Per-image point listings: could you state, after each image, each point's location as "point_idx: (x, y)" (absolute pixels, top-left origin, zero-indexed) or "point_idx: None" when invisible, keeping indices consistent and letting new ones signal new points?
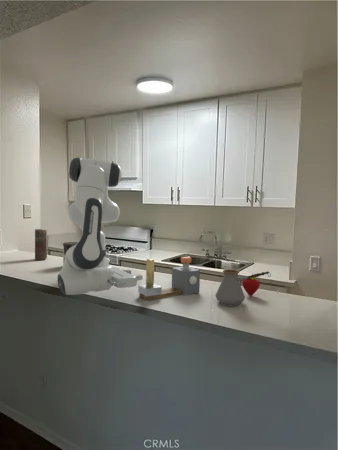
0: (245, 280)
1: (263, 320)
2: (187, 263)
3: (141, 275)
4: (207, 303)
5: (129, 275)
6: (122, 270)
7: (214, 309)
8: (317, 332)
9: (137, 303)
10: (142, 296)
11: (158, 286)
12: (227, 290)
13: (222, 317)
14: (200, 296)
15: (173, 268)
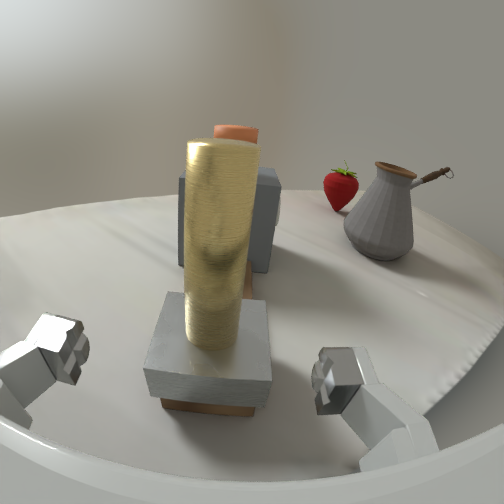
0: (342, 180)
1: (467, 267)
2: None
3: (366, 353)
4: (369, 275)
5: (483, 487)
6: (61, 451)
7: (416, 288)
8: (491, 256)
9: (274, 479)
10: (202, 407)
11: (250, 306)
12: (408, 223)
13: (464, 303)
14: (301, 256)
15: None
